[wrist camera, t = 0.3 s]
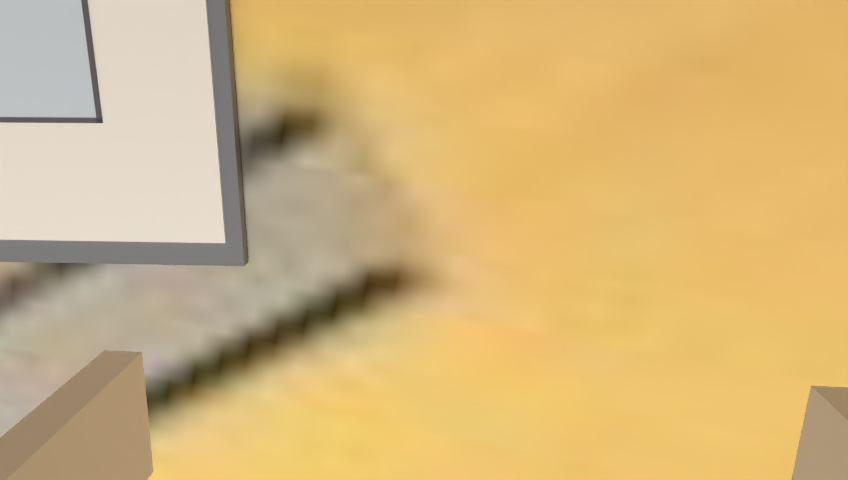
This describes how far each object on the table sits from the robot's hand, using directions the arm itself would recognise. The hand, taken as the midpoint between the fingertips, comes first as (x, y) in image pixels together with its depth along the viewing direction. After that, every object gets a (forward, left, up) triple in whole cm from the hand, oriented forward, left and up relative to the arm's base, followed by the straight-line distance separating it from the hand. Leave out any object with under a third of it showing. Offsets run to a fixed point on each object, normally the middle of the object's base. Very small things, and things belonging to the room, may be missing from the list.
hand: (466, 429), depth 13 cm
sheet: (-9, -23, -28) cm, 37 cm away
